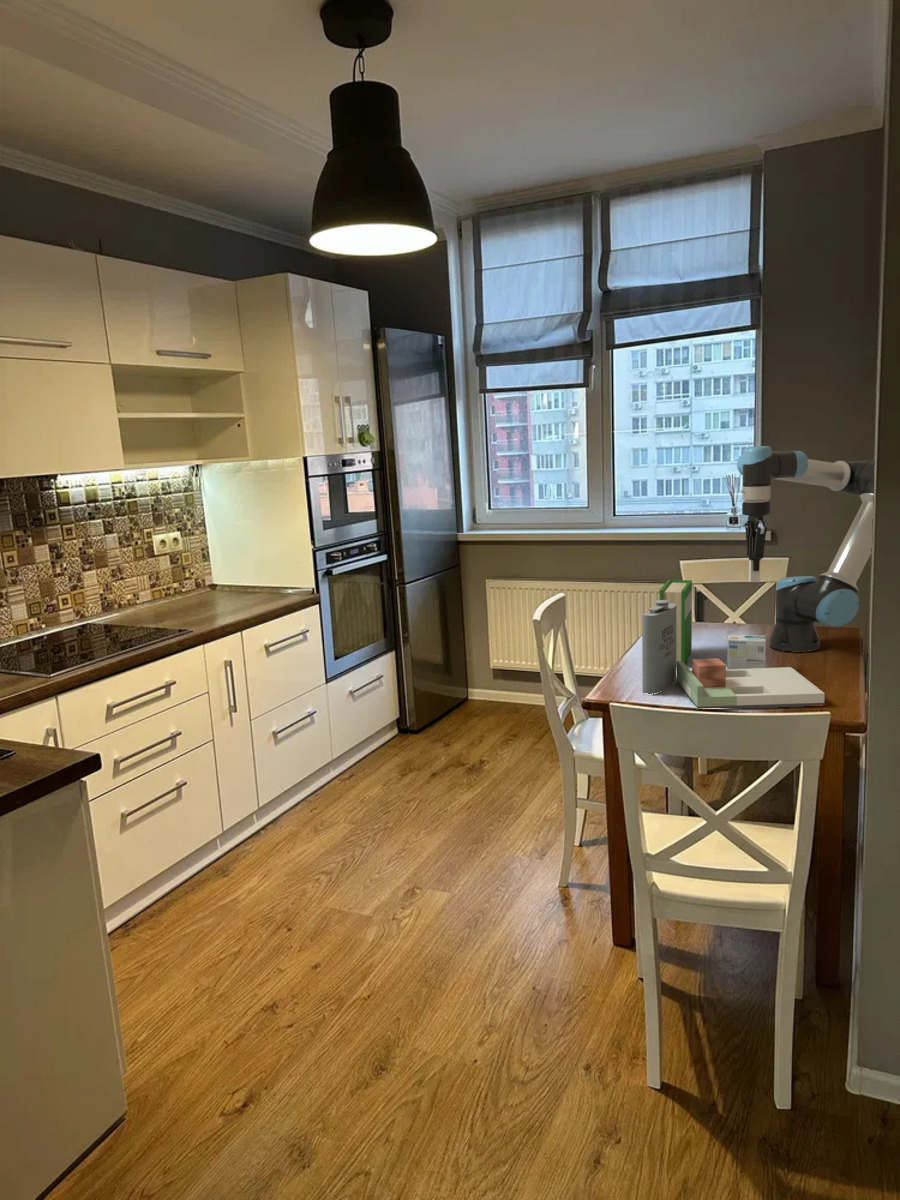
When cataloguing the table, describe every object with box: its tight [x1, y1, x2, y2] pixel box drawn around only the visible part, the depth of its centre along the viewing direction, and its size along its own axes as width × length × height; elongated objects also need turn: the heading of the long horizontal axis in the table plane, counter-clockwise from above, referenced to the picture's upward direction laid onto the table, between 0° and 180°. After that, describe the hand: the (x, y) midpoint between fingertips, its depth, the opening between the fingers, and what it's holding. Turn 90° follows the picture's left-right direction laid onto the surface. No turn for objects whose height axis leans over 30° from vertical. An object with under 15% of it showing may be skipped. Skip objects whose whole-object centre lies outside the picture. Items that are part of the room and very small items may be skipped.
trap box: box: [676, 661, 826, 711], centre depth 221 cm, size 32×24×6 cm
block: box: [691, 657, 727, 688], centre depth 220 cm, size 7×7×6 cm
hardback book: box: [659, 579, 693, 666], centre depth 255 cm, size 18×7×24 cm, turn 157°
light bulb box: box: [727, 634, 767, 669], centre depth 240 cm, size 11×7×11 cm, turn 71°
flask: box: [641, 599, 677, 694], centre depth 229 cm, size 17×5×25 cm, turn 143°
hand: (754, 581), depth 240 cm, fingers closed
